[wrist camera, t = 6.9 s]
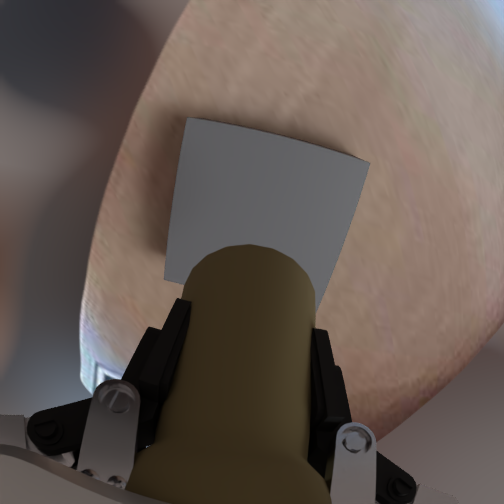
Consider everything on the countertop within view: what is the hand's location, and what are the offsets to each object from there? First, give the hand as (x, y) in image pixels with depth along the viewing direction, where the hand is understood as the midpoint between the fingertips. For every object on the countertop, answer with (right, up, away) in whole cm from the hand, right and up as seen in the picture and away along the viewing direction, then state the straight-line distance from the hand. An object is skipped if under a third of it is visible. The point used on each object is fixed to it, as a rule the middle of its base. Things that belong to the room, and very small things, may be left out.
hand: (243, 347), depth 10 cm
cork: (0, +1, +3) cm, 3 cm away
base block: (+1, +7, +16) cm, 17 cm away
